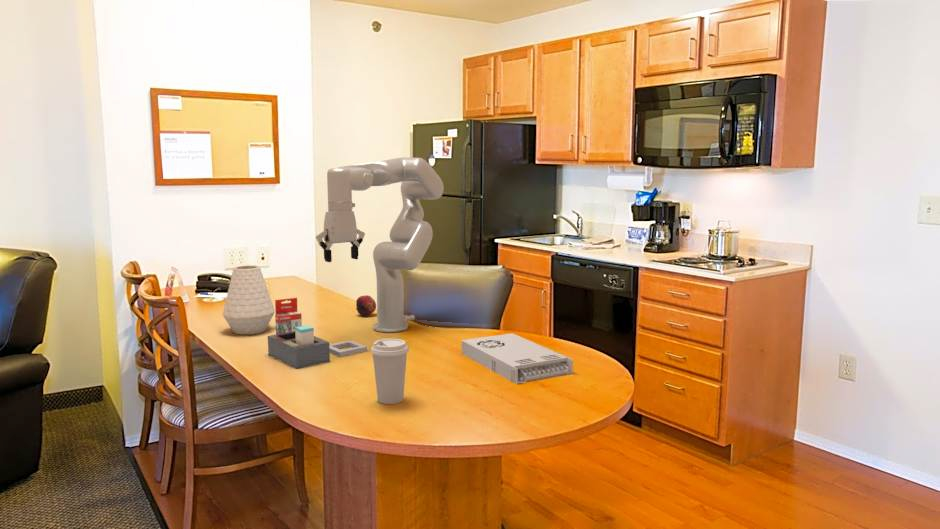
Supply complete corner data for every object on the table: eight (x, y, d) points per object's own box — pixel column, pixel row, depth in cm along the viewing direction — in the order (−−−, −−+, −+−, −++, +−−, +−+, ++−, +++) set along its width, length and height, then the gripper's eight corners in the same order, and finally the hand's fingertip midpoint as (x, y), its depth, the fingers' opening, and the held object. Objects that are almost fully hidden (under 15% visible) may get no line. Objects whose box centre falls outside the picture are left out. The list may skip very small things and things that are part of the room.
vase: (213, 334, 231) (209, 269, 228) (247, 323, 247) (243, 262, 244) (253, 339, 225) (249, 272, 221) (285, 327, 241) (282, 265, 237)
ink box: (302, 341, 222) (301, 299, 220) (279, 345, 218) (277, 301, 216) (299, 339, 225) (297, 297, 223) (276, 342, 221) (274, 299, 219)
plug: (308, 353, 203) (307, 325, 202) (314, 356, 200) (313, 327, 199) (296, 356, 201) (295, 327, 199) (302, 359, 198) (301, 329, 196)
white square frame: (350, 344, 219) (350, 340, 219) (367, 351, 211) (367, 346, 211) (323, 350, 212) (323, 345, 212) (339, 357, 205) (339, 352, 205)
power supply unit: (516, 386, 181) (516, 368, 180) (461, 355, 209) (461, 340, 209) (572, 376, 189) (573, 359, 189) (512, 347, 218) (512, 333, 217)
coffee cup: (372, 393, 173) (371, 338, 170) (409, 392, 174) (408, 337, 171) (370, 407, 163) (369, 348, 161) (409, 406, 164) (408, 347, 162)
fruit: (380, 315, 261) (379, 295, 259) (366, 319, 254) (366, 298, 253) (365, 312, 265) (364, 293, 264) (351, 316, 258) (351, 296, 257)
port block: (300, 348, 215) (300, 329, 214) (329, 361, 200) (329, 341, 200) (268, 354, 208) (267, 335, 207) (296, 368, 193) (295, 347, 192)
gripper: (357, 205, 220) (358, 256, 222) (309, 207, 208) (311, 261, 211) (369, 206, 214) (370, 259, 217) (321, 209, 203) (323, 264, 205)
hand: (341, 260), depth 214 cm, fingers open, 9 cm apart
